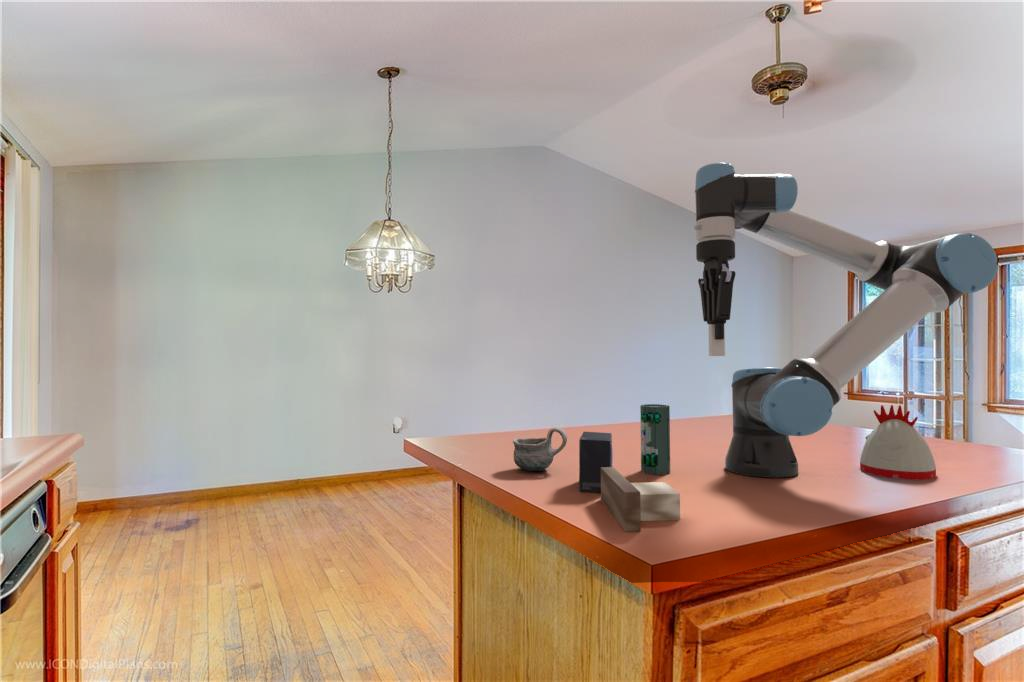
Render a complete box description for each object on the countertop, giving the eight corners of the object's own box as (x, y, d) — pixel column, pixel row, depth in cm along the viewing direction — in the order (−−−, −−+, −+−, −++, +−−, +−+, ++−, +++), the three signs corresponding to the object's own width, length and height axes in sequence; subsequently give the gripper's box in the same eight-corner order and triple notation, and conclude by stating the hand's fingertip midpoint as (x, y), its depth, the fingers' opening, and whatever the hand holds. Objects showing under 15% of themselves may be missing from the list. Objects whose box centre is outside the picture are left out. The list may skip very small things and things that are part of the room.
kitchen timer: (868, 463, 134) (867, 400, 134) (939, 471, 124) (938, 404, 124) (853, 472, 124) (852, 405, 124) (930, 483, 114) (929, 409, 114)
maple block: (664, 507, 99) (664, 482, 99) (680, 521, 91) (679, 493, 91) (620, 508, 99) (619, 483, 99) (632, 522, 91) (631, 494, 91)
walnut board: (613, 499, 104) (613, 467, 104) (640, 531, 86) (640, 492, 86) (600, 499, 104) (600, 467, 104) (625, 531, 86) (624, 492, 86)
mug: (513, 465, 134) (513, 424, 134) (565, 465, 134) (565, 423, 134) (512, 474, 125) (512, 430, 125) (568, 474, 124) (568, 429, 124)
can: (638, 469, 129) (637, 404, 129) (663, 468, 130) (662, 404, 130) (647, 475, 123) (646, 407, 123) (673, 474, 124) (673, 406, 124)
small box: (612, 494, 108) (611, 439, 108) (578, 492, 109) (577, 438, 109) (613, 481, 118) (612, 431, 118) (582, 479, 120) (582, 431, 120)
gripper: (686, 247, 121) (687, 355, 121) (710, 234, 108) (711, 356, 108) (719, 247, 121) (721, 355, 121) (748, 234, 108) (749, 356, 108)
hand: (716, 355), depth 114 cm, fingers closed
